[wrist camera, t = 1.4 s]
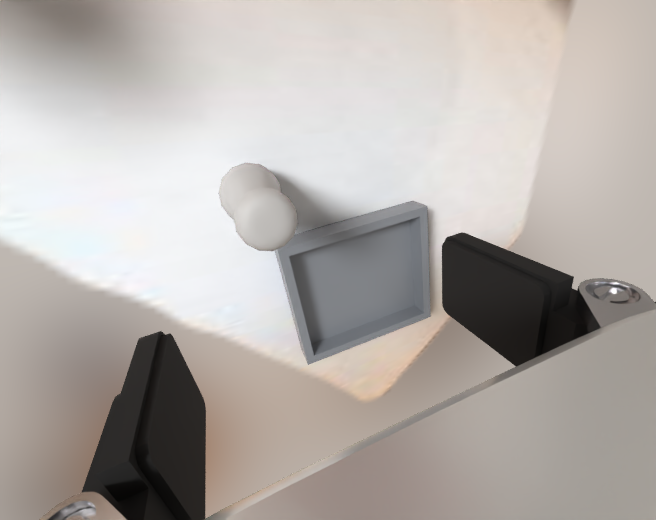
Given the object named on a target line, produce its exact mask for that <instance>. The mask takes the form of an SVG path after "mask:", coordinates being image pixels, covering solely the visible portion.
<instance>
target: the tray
mask: <svg viewBox="0 0 656 520" xmlns="http://www.w3.org/2000/svg"><path fill="white" fill-rule="evenodd" d="M275 253H276V256H277V260H278V264H279V267H280V271H281V275H282V278H283V282H284V286H285V289H286V293H287V297H288V300H289V304H290V308H291V312H292V315H293V319H294V323H295V326H296V330H297V334H298V337H299V341H300V345H301V348H302V351H303V354H304V356H305V358H306V361H307V363H308V365H309V364H311V363H314V362H316V361H319V360H321V359H324V358H326V357H329V356H332V355H334V354H337V353H339V352H342V351H344V350H347V349H349V348H352V347H354V346H357V345H360V344H362V343H365V342H367V341H370V340H372V339H375V338H377V337H380V336H383V335H385V334H388V333H390V332H393V331H395V330H398V329H400V328H403V327H405V326H408V325H411V324H413V323H416V322H418V321H421V320H423V319H426V318H428V317H430V283H429V248H428V214H427V206H426V205H423V204H420V203H417V202H414V201H410V202H407V203H403V204H400V205H396V206H393V207H389V208H386V209H382V210H379V211H375V212H372V213H369V214H365V215H362V216H358V217H355V218H351V219H348V220H344V221H341V222H337V223H334V224H330V225H327V226H323V227H320V228H316V229H313V230H309V231H306V232H302V233H299V234H295V235H294V237H293V238H292V239H291V240H290V241H289V242H288V243H287V244H286V245H285V246H283V247H281V248H278V249H276V250H275Z"/></svg>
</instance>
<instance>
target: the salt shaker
mask: <svg viewBox="0 0 656 520" xmlns="http://www.w3.org/2000/svg"><path fill="white" fill-rule="evenodd" d="M219 196H220V201H221V206H222V207H223V208H224V210H225V211H226V212H227V214H228V215H229V216H230V217H231V218H232V219H233V220H234V222H235V227H236V232H237V233H238V234H239V236H240V237H241V238H242V240H243V241H244V242H245V243H246V244H247V245H249V246H251V247H253V248H255V249H257V250H259V251H274V250H276V249H278V248H281V247H283V246H285V245H286V244H287V243H288V242H289V241H290V240H291V239H292V238H293V237H294V234H295V231H296V228H297V225H298V221H297V211H296V208H295V207H294V205H293V204H292V202H291V201H290V199H289V198H288V197H287V196H286V195H284V194H282V193H281V187H280V183H279V182H278V180H277V179H276V177H275V176H274V174H273V173H272V172H271V171H270V170H268V169H267V168H265V167H263V166H262V165H260V164H251V163H244V164H241V165H238V166H235V167H232V168H231V169H230V170H229V172H228V173H227V174H226V175H225V176H224V177H223V178H222V181H221V185H220V189H219Z"/></svg>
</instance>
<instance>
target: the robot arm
mask: <svg viewBox="0 0 656 520" xmlns="http://www.w3.org/2000/svg"><path fill="white" fill-rule="evenodd" d="M573 278H574V277H573V276H570V275H568V274H565V273H563V272H560V271H558V270H555V269H553V268H550V267H548V266H545V265H543V264H540V263H538V262H535V261H533V260H530V259H528V258H525V257H523V256H520V255H518V254H515V253H513V252H511V251H508V250H506V249H503V248H501V247H498V246H496V245H493V244H491V243H488V242H486V241H483V240H481V239H478V238H476V237H473V236H471V235H468V234H466V233H459V234H456V235H453V236H450V237H447V238H446V240H445V242H444V243H443V245H442V304H443V308H444V310H445V312H446V313H447V314H448V315H450V316H451V317H452V318H454V319H455V320H456V321H457V322H459V323H460V324H461V325H463V326H464V327H465V328H467V329H468V330H469V331H471V332H472V333H473V334H475V335H476V336H477V337H478V338H480V339H481V340H482V341H484V342H485V343H486V344H488V345H489V346H490V347H491V348H493V349H494V350H495V351H497V352H498V353H499V354H501V355H502V356H503V357H504V358H506V359H507V360H508V361H510V362H511V363H512V364H514V365H515V366H516V367H515V368H512V369H510V370H508V371H506V372H504V373H502V374H500V375H498V376H495V377H493V378H491V379H489V380H487V381H485V382H483V383H481V384H479V385H477V386H474V387H472V388H470V389H468V390H466V391H464V392H462V393H460V394H458V395H455V396H453V397H451V398H449V399H447V400H445V401H443V402H441V403H439V404H436V405H434V406H432V407H430V408H428V409H426V410H424V411H422V412H420V413H418V414H416V415H413V416H411V417H409V418H407V419H405V420H403V421H401V422H399V423H397V424H395V425H393V426H390V427H388V428H386V429H384V430H382V431H380V432H378V433H376V434H374V435H372V436H370V437H368V438H366V439H364V440H362V441H359V442H357V443H355V444H354V445H351V446H349V447H347V448H345V449H343V450H341V451H339V452H337V453H335V454H333V455H331V456H328V457H327V458H324V459H322V460H320V461H318V462H316V463H314V464H312V465H310V466H308V467H306V468H304V469H302V470H300V471H297V472H296V473H293V474H292V475H290V476H288V477H286V478H284V479H282V480H280V481H278V482H276V483H274V484H272V485H270V486H268V487H266V488H264V489H262V490H260V491H258V492H256V493H254V494H252V495H250V496H248V497H246V498H244V499H242V500H240V501H238V502H236V503H234V504H232V505H230V506H228V507H226V508H224V509H222V510H220V511H219V512H217V513H215V514H213V515H211V516H210V517H208V518H206V519H205V445H206V444H205V442H206V439H205V437H206V431H205V430H206V410H205V403H204V399H203V397H202V395H201V393H200V391H199V389H198V386H197V385H196V382H195V381H194V378H193V376H192V374H191V372H190V370H189V368H188V366H187V364H186V362H185V360H184V358H183V356H182V354H181V352H180V350H179V348H178V346H177V344H176V342H175V340H174V338H173V336H172V335H171V334H167V335H165V334H164V333H163V332H161V331H160V332H157V333H154V334H151V335H148V336H145V337H142V338H139V340H138V343H137V345H136V349H135V351H134V355H133V358H132V361H131V364H130V367H129V370H128V373H127V376H126V379H125V382H124V385H123V388H122V391H121V394H119V395H117V396H116V397H115V399H114V401H113V403H112V406H111V409H110V412H109V415H108V417H107V420H106V423H105V426H104V429H103V432H102V435H101V438H100V441H99V444H98V446H97V449H96V452H95V455H94V458H93V461H92V464H91V467H90V470H89V473H88V475H87V478H86V481H85V484H84V487H83V490H82V493H80V494H77V495H75V496H72V497H70V498H68V499H66V500H65V501H63V502H61V503H59V504H58V505H56V506H55V507H54V508H53V509H51V510H50V511H49V512H48V513H47V514H45V515H44V516H43V517H42V518H41V519H40V520H656V302H654V301H653V300H652V299H651V298H650V297H649V295H648V294H647V293H645V292H644V291H643V290H642V289H640V288H638V287H636V286H634V285H632V284H629V283H626V282H623V281H618V280H613V279H604V278H598V279H589V280H585V281H583V282H581V283H580V285H579V286H578V291H577V290H574V289H572V283H573Z"/></svg>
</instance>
